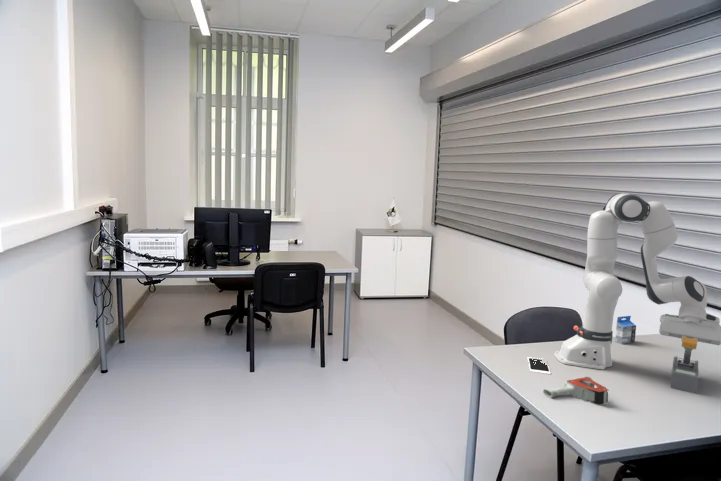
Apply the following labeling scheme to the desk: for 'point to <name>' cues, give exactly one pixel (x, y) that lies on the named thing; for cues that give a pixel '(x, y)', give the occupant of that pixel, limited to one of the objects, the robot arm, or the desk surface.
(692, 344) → the lever
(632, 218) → the robot arm
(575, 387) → the tape dispenser
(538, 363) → the cell phone
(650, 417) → the desk surface
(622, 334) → the label tape box
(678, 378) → the block
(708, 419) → the desk surface
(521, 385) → the desk surface
